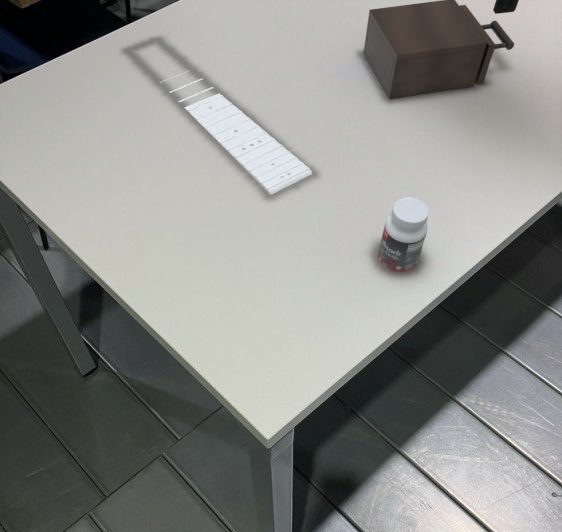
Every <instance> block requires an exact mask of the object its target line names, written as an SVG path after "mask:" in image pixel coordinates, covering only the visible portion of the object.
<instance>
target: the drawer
mask: <svg viewBox="0 0 562 532" xmlns="http://www.w3.org/2000/svg"><path fill="white" fill-rule="evenodd" d="M459 6H460V8H461V9H462V10H463V12H464V13H465V14H466V16H467V17H468V18H469V20H470V21H471V22H472V24H473V25H474V26H475V28H476V29H477V30H478V32H479V33H480V34H481V36H482V37H483V38H484V40H485V41H486V42H487V44H486V48H485V50H484V54H483V57H482V60H481V63H480V66H479V70H478V73H477V76H476V79H475V82H476V84H483V83H485V79H486V77H487V73H488V71H489V67H490V63H491V60H492V58H493V54H494V52H495V50H500V49H505V50H507V51H510V50H512V49H513V48H514V46H515V42H514V41H513V40H512V38H511V37H510V36H509V35H508V34H507V32H506V31H505V29H503V27H502V26H501V24H500V23H499V21H497V20H492V21H491V22H490V23H487V24H481V23H480V22H479V20H478V19H477V18H476V16H475V15H474V14H473V12H471V10H470V9H469V7H468V6H467V4H460V5H459ZM486 30H491V31H492V32H493V34H495V36H496V37H497V39H498V40H499V41H500V42H501V43H495V42H494V41H493V39H492V37H491V36H490V35H489V34H488V33H487V31H486Z"/></svg>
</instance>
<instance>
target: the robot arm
mask: <svg viewBox="0 0 562 532" xmlns="http://www.w3.org/2000/svg"><path fill="white" fill-rule="evenodd" d="M519 1H520V0H495V2H494V6H493V9H492V11H493V13H494V14H495V15H499V14H505V13H514V12H515V11H516V9H517V7H518V4H519Z"/></svg>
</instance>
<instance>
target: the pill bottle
mask: <svg viewBox="0 0 562 532" xmlns="http://www.w3.org/2000/svg"><path fill="white" fill-rule="evenodd" d="M429 212H430V210H429V207H428V206H427V204H426V203H425V202H424V201H422V200H420V199H418V198H416V197H409V196H407V197H406V196H405V197H402V198H399V199H397V200H396V201H395V202H394V204H393V205H392V210H391V213H390V214H389V215H388V216H387V217H386V220H385V222H384V227H383V230H382V236H381V239H380V243H379V247H378V252H377V258H378V261H379V262H380V264H381V265H382V266H383V267H384V268H386V269H388V270H390V271H393V272H397V273H402V272H403V273H404V272H408V271H410V270H412V269H414V268H415V267H416V266H417V264H418V263H419V262H418V261H419V258H420V256H421V252H422V249H423V246H424V243H425V239H426V236H427V233H428V228H429V227H428V222H427V221H428V217H429V215H430V213H429Z"/></svg>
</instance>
